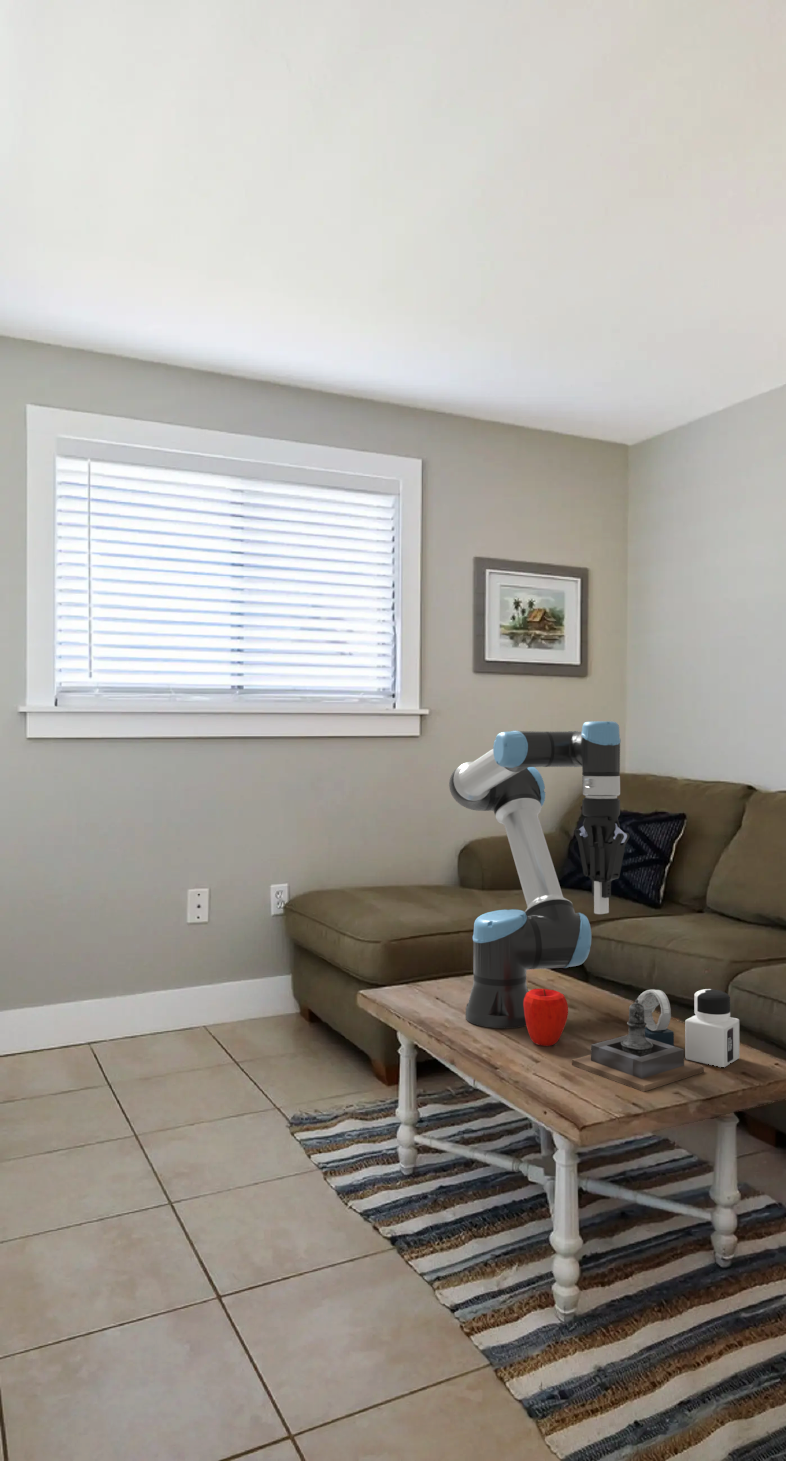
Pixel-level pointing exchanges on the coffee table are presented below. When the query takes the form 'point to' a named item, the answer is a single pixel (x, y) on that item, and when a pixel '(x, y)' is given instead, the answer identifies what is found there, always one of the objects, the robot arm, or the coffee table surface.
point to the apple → (545, 1015)
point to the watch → (659, 1031)
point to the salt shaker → (636, 1032)
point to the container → (712, 1030)
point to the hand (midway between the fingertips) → (601, 913)
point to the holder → (638, 1064)
